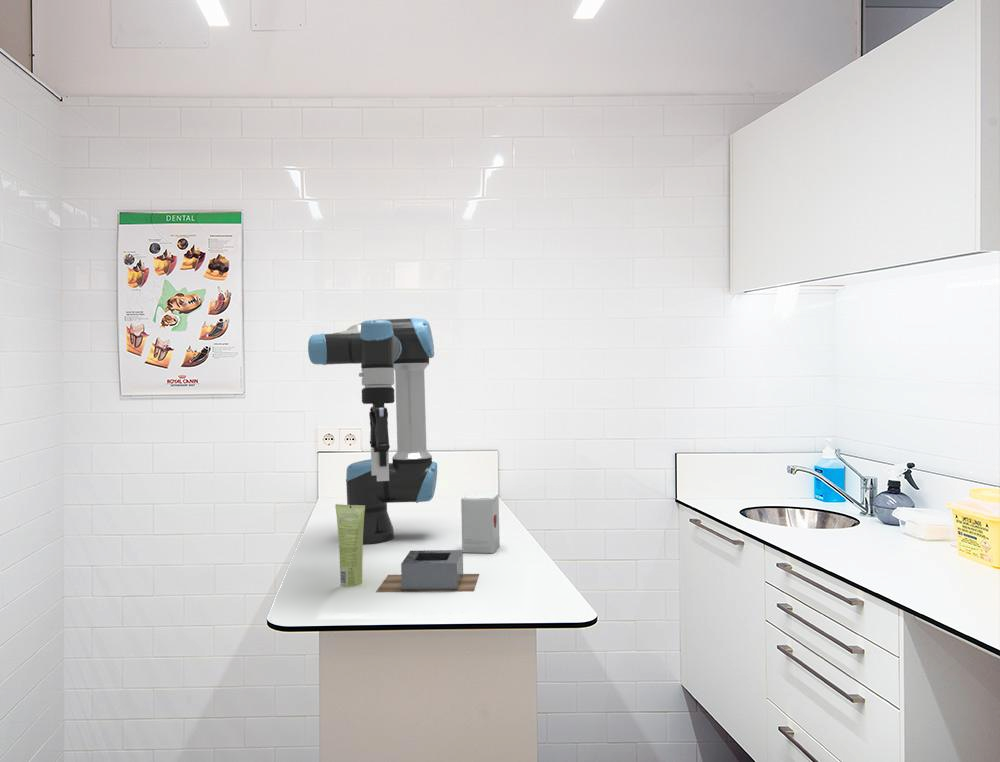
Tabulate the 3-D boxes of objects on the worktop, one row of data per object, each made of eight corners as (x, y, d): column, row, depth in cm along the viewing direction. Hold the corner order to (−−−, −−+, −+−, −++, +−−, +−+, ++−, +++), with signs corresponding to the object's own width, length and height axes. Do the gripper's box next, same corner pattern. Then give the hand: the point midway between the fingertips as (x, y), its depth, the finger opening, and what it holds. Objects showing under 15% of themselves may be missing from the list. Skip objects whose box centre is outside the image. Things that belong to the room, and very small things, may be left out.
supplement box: (494, 553, 213) (492, 498, 212) (461, 553, 214) (460, 498, 214) (500, 545, 221) (499, 492, 221) (469, 545, 223) (468, 492, 223)
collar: (411, 575, 189) (410, 550, 189) (463, 575, 188) (462, 550, 188) (401, 590, 177) (401, 563, 177) (457, 589, 176) (456, 563, 176)
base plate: (388, 579, 190) (388, 574, 190) (479, 578, 189) (479, 573, 189) (375, 597, 176) (375, 592, 176) (474, 596, 175) (473, 591, 175)
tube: (361, 583, 187) (359, 501, 187) (367, 589, 183) (365, 504, 182) (337, 587, 185) (335, 504, 184) (343, 592, 180) (340, 507, 180)
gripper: (357, 387, 196) (359, 473, 195) (365, 386, 172) (368, 484, 171) (388, 387, 198) (390, 472, 197) (400, 385, 173) (402, 482, 173)
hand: (380, 478), depth 184 cm, fingers open, 13 cm apart
